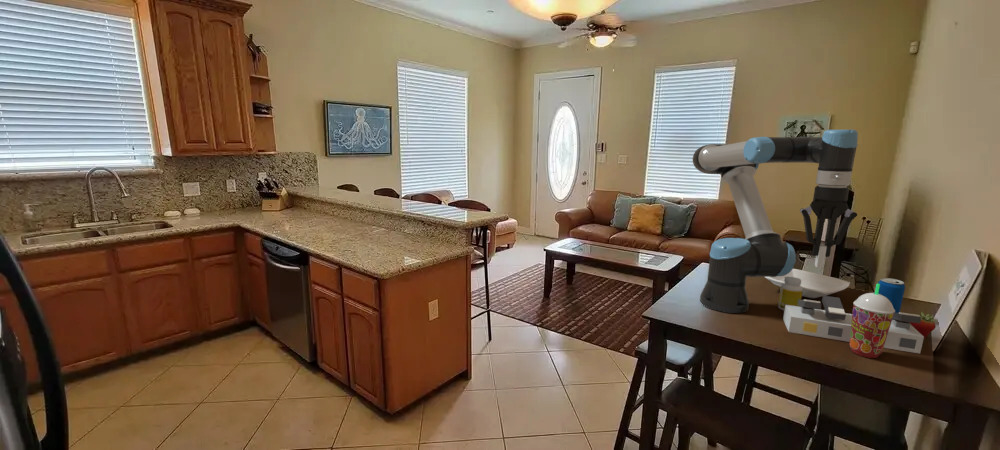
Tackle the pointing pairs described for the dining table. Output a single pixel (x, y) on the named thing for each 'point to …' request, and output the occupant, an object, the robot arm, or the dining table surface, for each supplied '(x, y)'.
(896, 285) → the beverage can
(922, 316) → the fruit
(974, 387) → the dining table surface
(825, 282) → the bowl
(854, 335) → the smoothie
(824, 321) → the switch unit
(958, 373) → the dining table surface
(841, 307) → the rocker
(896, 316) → the rocker
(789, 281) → the pill bottle
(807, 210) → the robot arm
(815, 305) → the rocker
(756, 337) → the dining table surface
